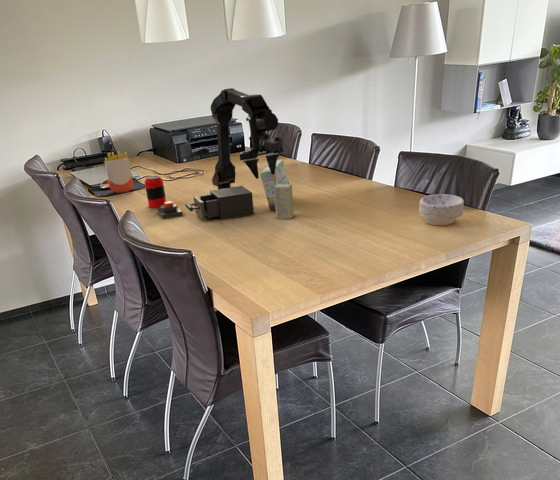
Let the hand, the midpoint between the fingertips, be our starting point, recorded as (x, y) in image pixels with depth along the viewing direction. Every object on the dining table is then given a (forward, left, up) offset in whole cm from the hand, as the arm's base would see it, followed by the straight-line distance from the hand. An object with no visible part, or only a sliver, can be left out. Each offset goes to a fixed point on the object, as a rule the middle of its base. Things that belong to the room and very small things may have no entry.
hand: (265, 176), depth 218 cm
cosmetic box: (+6, +5, -15) cm, 17 cm away
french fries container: (-75, -46, -15) cm, 89 cm away
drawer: (-11, -21, -14) cm, 27 cm away
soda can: (-39, -36, -15) cm, 55 cm away
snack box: (-12, +11, -14) cm, 22 cm away
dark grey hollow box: (-11, -11, -15) cm, 21 cm away
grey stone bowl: (+42, +51, -15) cm, 68 cm away
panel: (-24, -34, -15) cm, 44 cm away
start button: (-24, -34, -12) cm, 43 cm away
